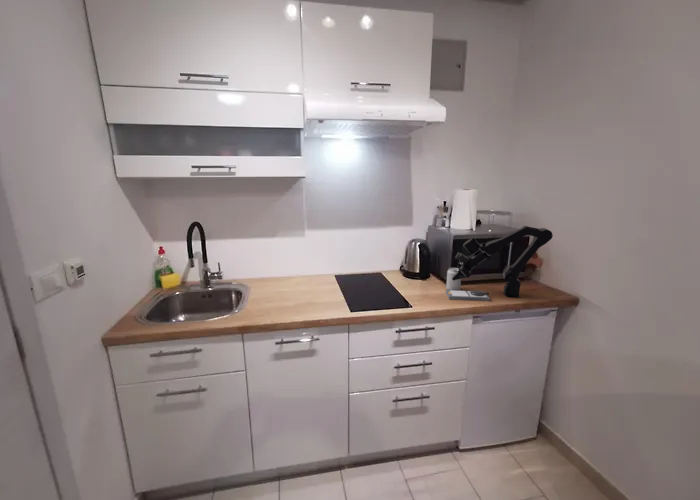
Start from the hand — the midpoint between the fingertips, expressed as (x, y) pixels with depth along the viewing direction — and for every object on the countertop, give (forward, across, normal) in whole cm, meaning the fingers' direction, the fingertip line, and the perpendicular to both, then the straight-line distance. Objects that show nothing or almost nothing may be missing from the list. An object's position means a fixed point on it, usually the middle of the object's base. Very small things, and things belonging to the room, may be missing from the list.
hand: (452, 277), depth 179 cm
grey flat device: (0, +9, +10) cm, 14 cm away
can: (+5, 0, +6) cm, 7 cm away
